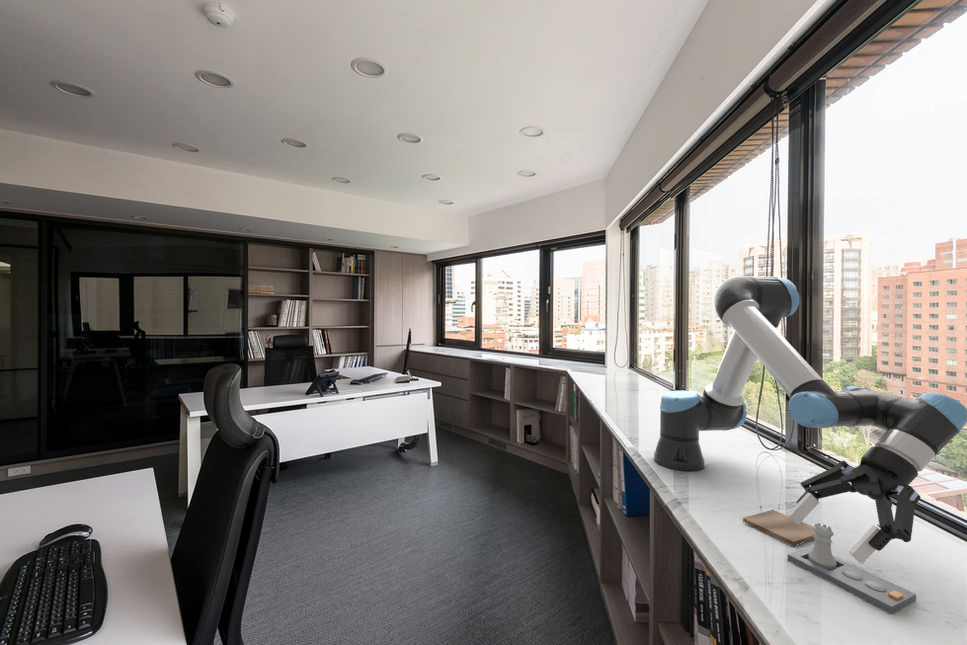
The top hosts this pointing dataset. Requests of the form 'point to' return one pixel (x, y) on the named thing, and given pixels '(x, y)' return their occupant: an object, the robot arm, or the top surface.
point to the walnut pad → (781, 527)
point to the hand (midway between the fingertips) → (821, 537)
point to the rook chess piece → (822, 548)
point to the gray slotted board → (857, 582)
